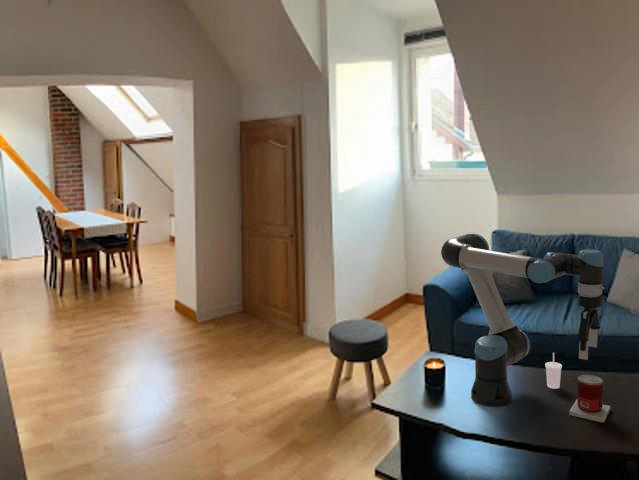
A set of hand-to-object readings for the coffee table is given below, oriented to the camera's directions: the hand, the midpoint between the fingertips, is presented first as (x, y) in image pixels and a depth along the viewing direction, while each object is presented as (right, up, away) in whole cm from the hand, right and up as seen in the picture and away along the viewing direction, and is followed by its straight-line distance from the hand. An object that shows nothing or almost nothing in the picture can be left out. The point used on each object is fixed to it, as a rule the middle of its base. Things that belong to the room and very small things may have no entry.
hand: (588, 352), depth 192 cm
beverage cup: (-2, -19, +24) cm, 31 cm away
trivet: (+2, -22, +2) cm, 22 cm away
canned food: (+1, -20, +2) cm, 20 cm away
